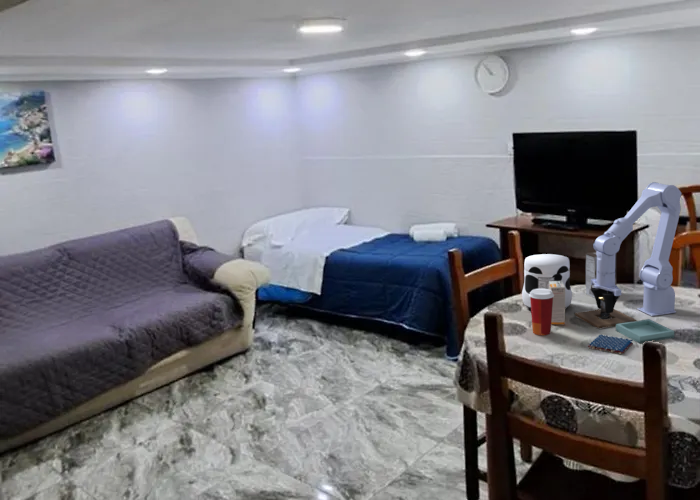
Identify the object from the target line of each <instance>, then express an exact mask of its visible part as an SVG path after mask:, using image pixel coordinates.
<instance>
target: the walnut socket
mask: <svg viewBox="0 0 700 500" xmlns="http://www.w3.org/2000/svg"><path fill="white" fill-rule="evenodd" d="M574 316H575V317H576V318H578V319H579V320H582V321H584V322H585V323H586V324H589V325H591V326H592V327H594V328H596V329H599V330H600V329H606V328H612V327H616V324H620V323H626V322H633V321H637V319H636V318H633V317H631V316H629V315H627V314H625V313H623V312H621V311H618V310H617V309H615V308H614V310H613V313H610V316H609V318H605V319H602V318H601V317H602V316H600V309H598V308H597V309H594V310H586V311H578V312H574Z"/></svg>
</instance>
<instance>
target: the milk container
mask: <svg viewBox="0 0 700 500" xmlns="http://www.w3.org/2000/svg"><path fill="white" fill-rule="evenodd" d="M523 263H524V267H523V268H524V270H523V273H524V274H523V275H524V283H523V287H522V291H521V298H522V303H523V304H524V306H526V307H527V308H528V309H530V310H531V300H530V296H529V294H530V292H531V291H532V290H534V289H549V281H563V284H564V286H565V309H567V308H568V307H570V305H571V304H572V299H573V292H572V288H571V287H572V286H571V284H570V275H571V273H570V272H571V270H570V266H571V265H570V258H569V257H567V256H566V255H565V256H564V255H561V254H553V253H547V254H546V253H542V254H533V255H529V256H527V257H525V259H524V262H523Z"/></svg>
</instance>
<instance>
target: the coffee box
mask: <svg viewBox="0 0 700 500" xmlns="http://www.w3.org/2000/svg"><path fill="white" fill-rule="evenodd" d="M617 255H618V254H617V253H615V285H616V286H617V269H618V268H617V266H618V265H617V263H618V262H617ZM591 279H597V255H596V251H593V252H592V251H591V252H587V253H586V252H585V294H586V295H587V296H590V297H592V298H594V299H595V297H594V294H593V292H592V291H591V288H594V285H591ZM607 293H608V292H607Z"/></svg>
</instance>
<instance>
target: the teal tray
mask: <svg viewBox="0 0 700 500" xmlns="http://www.w3.org/2000/svg"><path fill="white" fill-rule="evenodd" d="M615 331H616V332H617V333H620V334H621V335H623V336H625V337H627V338H628V339H629V340H633V341H635V342H636V343H638V344H644V343H643V342H645V341H652V340H655V341H654V342H656V341H662V340H663V341H664V340H669V339H674V338H675V330H673V329H670V328H669V327H667V326H664V325H663V324H660V323H659V322H656V321H655V320H652V319H650V318H647V319H640V320H636V321H633V322H626V323H620V324H616V326H615ZM652 342H653V341H652ZM645 343H646V342H645Z"/></svg>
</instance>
